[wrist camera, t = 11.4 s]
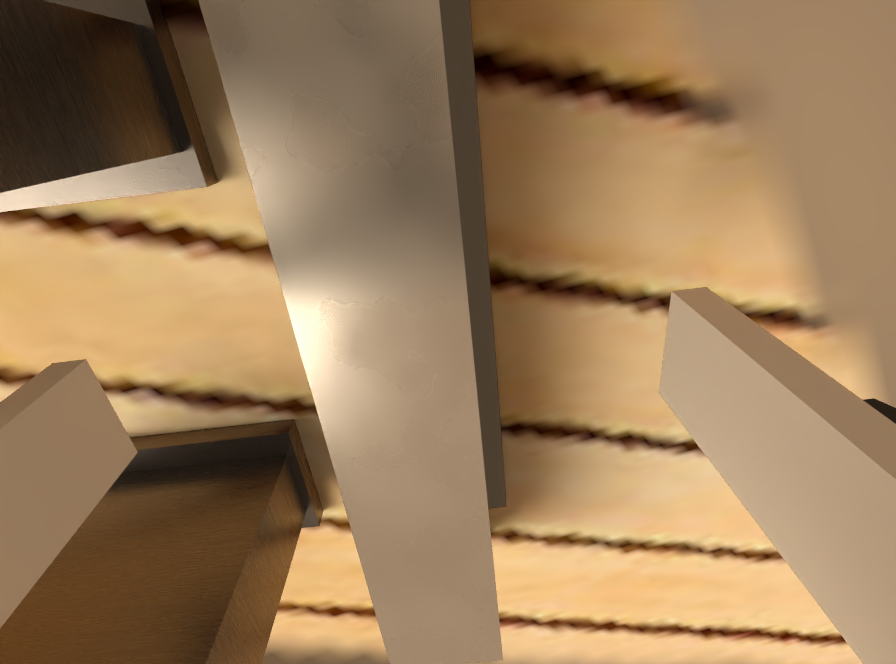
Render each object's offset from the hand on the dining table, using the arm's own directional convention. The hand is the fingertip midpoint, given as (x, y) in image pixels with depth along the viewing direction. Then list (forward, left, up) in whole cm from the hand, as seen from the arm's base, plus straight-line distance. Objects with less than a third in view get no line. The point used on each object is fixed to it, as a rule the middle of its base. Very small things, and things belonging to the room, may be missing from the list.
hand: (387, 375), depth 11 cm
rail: (+1, 0, -5) cm, 5 cm away
